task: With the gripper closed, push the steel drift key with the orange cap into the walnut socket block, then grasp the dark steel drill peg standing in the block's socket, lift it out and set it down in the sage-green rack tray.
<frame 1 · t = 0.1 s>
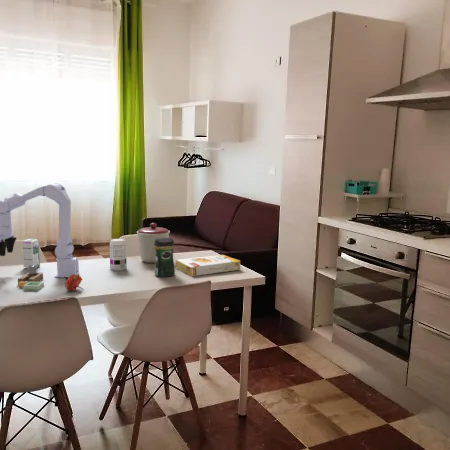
hand: (6, 254, 227), 10 cm above the table, tool pointing down, fingers open, 7 cm apart
canister: (153, 261, 262), on the table
supplement can: (118, 269, 243), on the table
coffee jar: (164, 275, 232), on the table
pomegranate: (74, 291, 205), on the table
syrup box: (31, 268, 242), on the table
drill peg: (33, 280, 219), resting in socket block
cereal box: (207, 270, 246), on the table
rack tray: (33, 288, 207), on the table
drift key: (24, 283, 210), point 1 cm above the table, slide at 0.0 cm
socket block: (30, 282, 216), on the table
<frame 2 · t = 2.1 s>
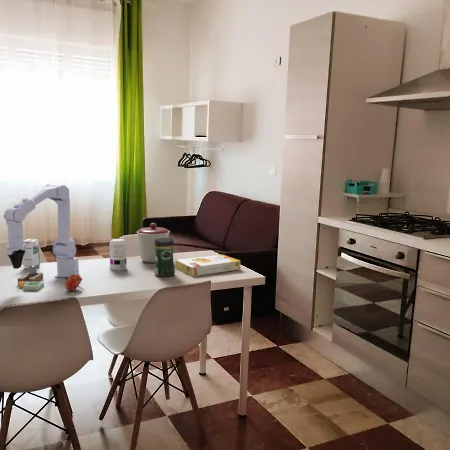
hand: (17, 267, 202), 10 cm above the table, tool pointing down, fingers closed
nothing on the table moved.
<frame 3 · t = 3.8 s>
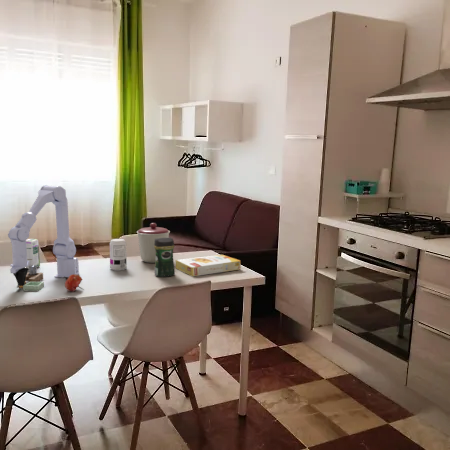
hand: (21, 285, 206), 1 cm above the table, tool pointing down, fingers closed
drift key: (24, 283, 210), point 1 cm above the table, slide at 0.2 cm, touching gripper
everything else where it was.
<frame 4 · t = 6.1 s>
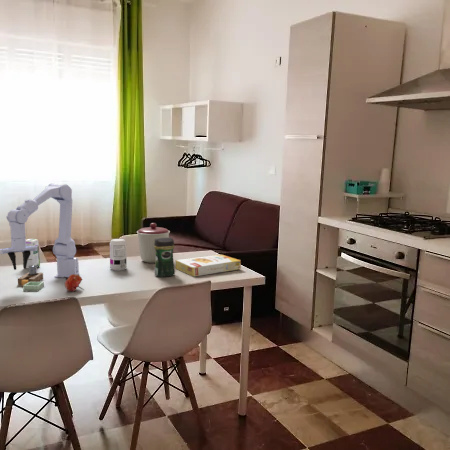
hand: (19, 268, 204), 9 cm above the table, tool pointing down, fingers open, 3 cm apart
drift key: (27, 281, 213), point 1 cm above the table, slide at 3.0 cm
everything else where it was.
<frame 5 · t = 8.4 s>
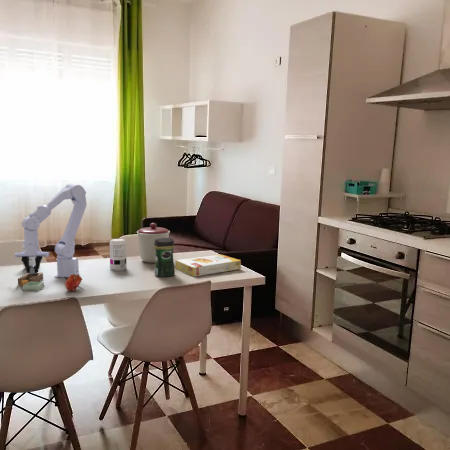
hand: (32, 272, 218), 4 cm above the table, tool pointing down, fingers closed on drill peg, 3 cm apart
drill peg: (33, 280, 219), resting in socket block, touching gripper
everything else where it was.
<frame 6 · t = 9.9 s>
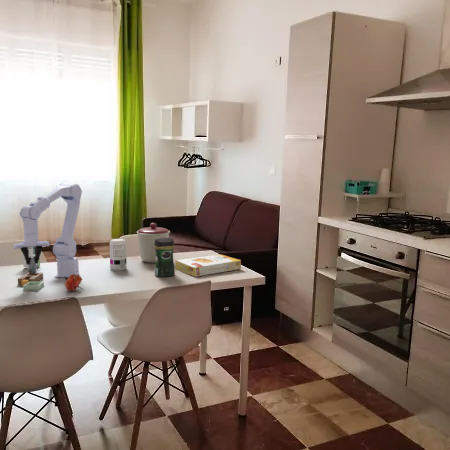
hand: (32, 263, 209), 10 cm above the table, tool pointing down, fingers closed on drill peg, 3 cm apart
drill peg: (32, 272, 210), point 6 cm above the table, touching gripper
everything else where it was.
when the fingers open (5 cm above the table, at t = 11.4 s): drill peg stays where it is, resting on rack tray.
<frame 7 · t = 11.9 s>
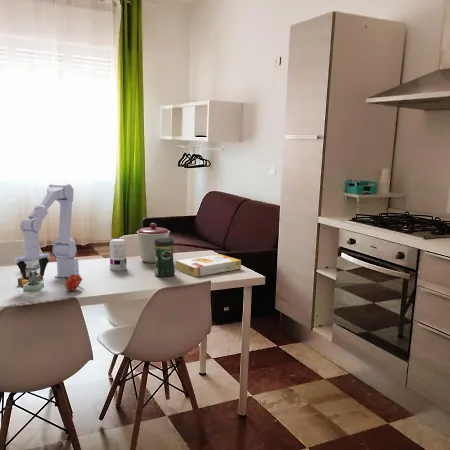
hand: (33, 276, 206), 5 cm above the table, tool pointing down, fingers open, 7 cm apart
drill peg: (33, 287, 207), point 1 cm above the table, touching rack tray
everything else where it was.
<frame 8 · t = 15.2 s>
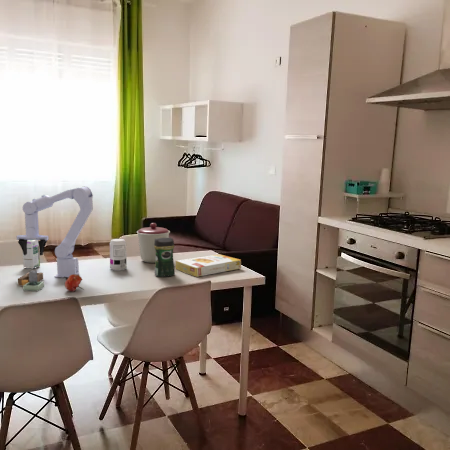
hand: (33, 254, 227), 10 cm above the table, tool pointing down, fingers open, 7 cm apart
at the end: drift key slide at 3.0 cm; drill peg 0.4 cm off-centre on the rack tray, point 0.5 cm above the rack tray's base; the gripper is holding nothing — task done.
